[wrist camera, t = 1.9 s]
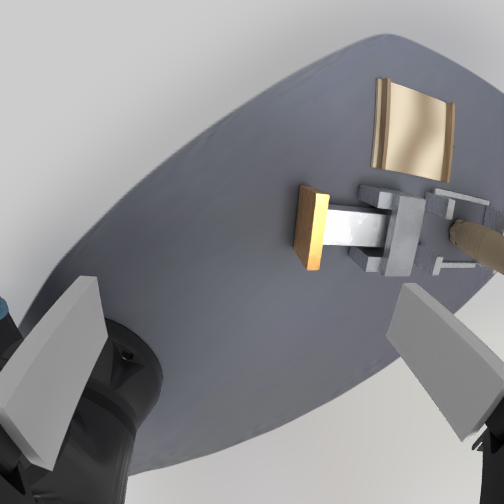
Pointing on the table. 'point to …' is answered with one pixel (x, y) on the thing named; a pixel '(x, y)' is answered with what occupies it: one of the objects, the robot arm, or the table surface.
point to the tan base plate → (412, 132)
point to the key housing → (392, 232)
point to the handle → (479, 243)
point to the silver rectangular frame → (444, 208)
